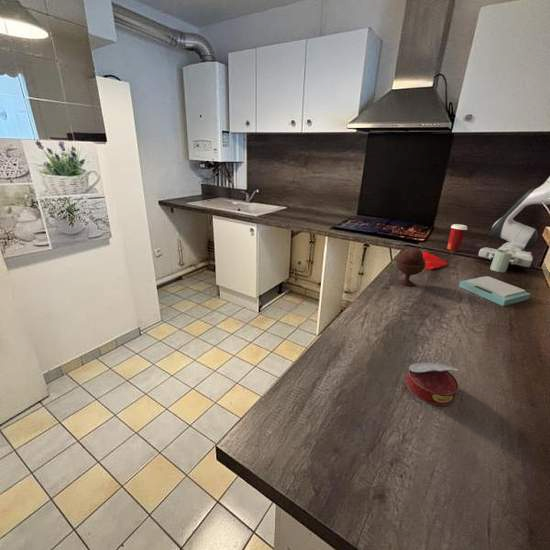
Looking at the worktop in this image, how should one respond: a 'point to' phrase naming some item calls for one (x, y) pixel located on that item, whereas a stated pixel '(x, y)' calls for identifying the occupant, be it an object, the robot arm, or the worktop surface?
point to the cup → (501, 260)
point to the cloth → (433, 261)
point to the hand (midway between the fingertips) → (501, 260)
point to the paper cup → (456, 236)
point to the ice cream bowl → (410, 264)
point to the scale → (495, 290)
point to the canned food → (432, 382)
